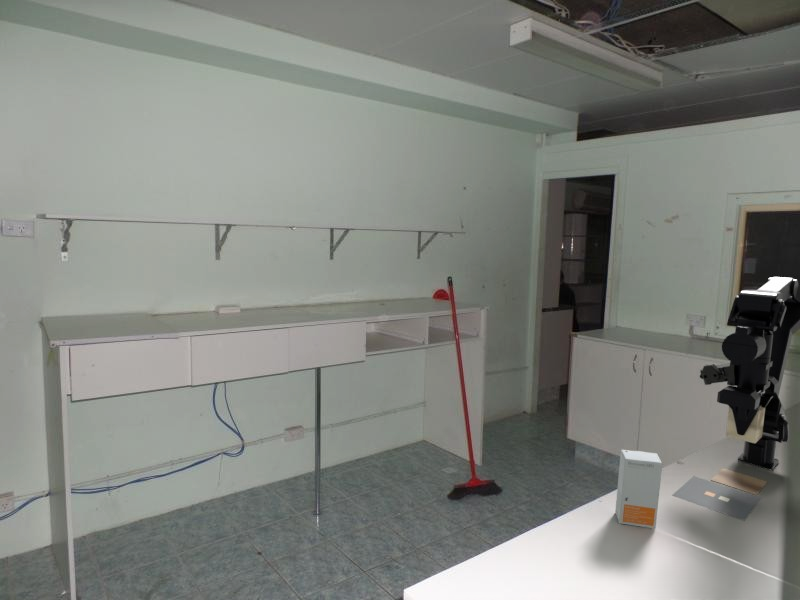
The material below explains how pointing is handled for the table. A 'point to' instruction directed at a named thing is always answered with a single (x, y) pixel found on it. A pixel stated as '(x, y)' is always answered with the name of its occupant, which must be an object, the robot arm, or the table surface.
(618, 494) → the skincare box
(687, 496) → the tile
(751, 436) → the birch block
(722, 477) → the pad
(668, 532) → the table surface
